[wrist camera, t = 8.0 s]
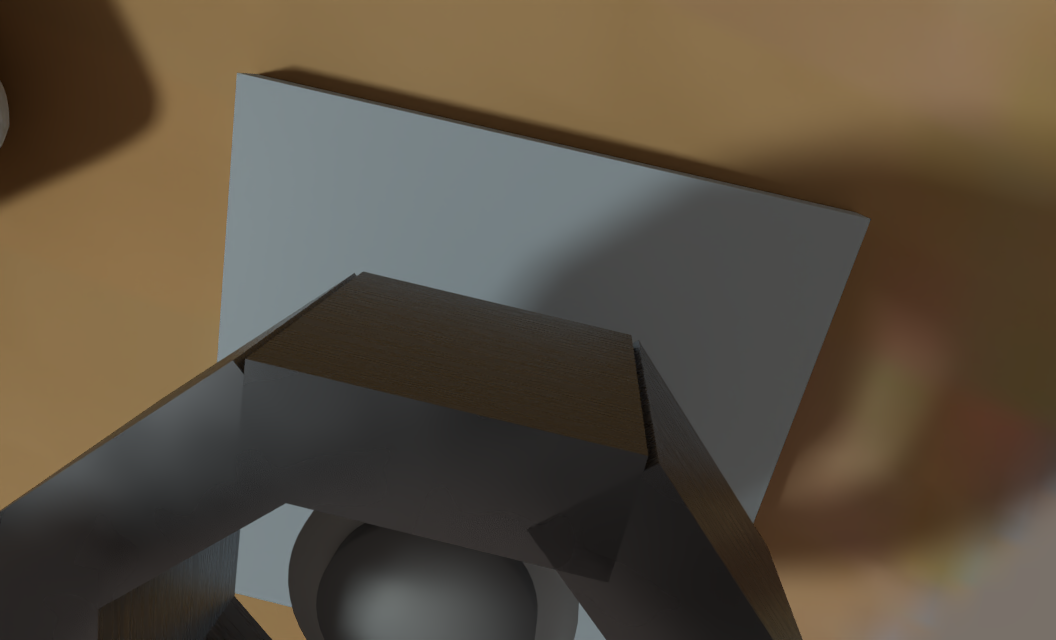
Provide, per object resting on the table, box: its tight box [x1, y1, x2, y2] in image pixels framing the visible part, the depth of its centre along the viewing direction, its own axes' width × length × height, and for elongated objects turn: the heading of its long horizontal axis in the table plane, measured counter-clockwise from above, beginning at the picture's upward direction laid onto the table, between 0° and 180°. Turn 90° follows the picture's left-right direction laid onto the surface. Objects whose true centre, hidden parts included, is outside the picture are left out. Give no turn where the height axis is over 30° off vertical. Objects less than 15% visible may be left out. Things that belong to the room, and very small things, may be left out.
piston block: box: [217, 73, 871, 640], centre depth 16 cm, size 16×16×8 cm
